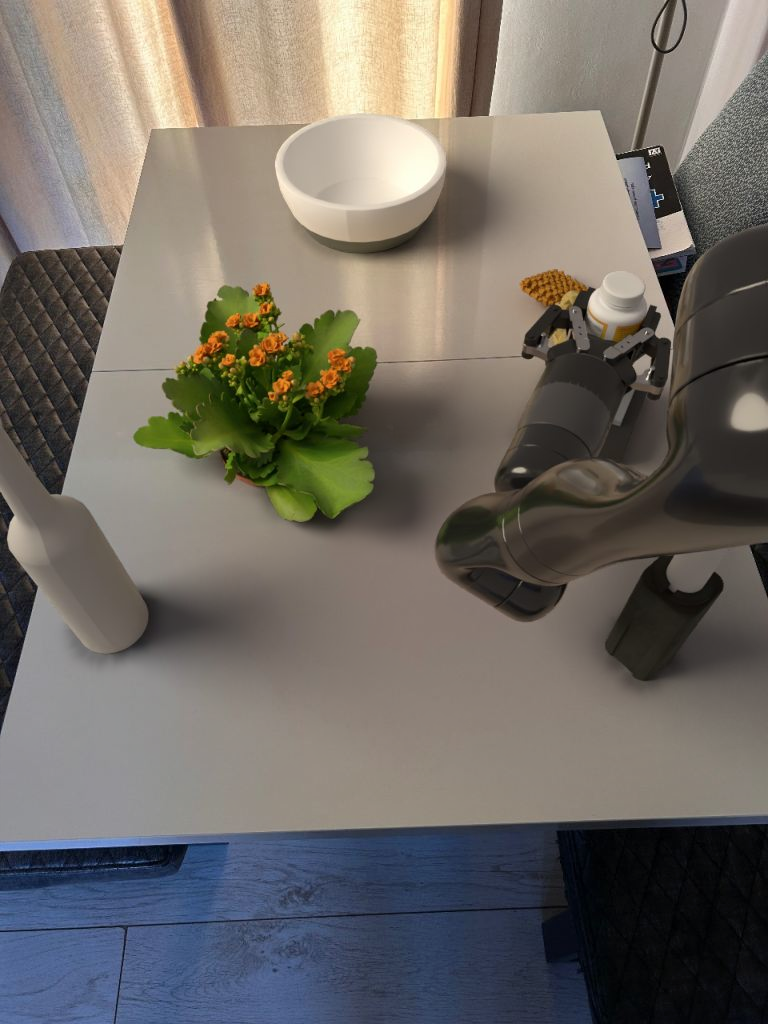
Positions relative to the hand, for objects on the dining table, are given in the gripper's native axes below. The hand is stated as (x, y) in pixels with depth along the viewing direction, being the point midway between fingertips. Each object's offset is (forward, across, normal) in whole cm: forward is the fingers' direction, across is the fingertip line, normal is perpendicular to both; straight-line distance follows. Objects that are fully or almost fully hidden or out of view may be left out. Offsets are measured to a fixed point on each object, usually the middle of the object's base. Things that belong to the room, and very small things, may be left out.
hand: (620, 303), depth 77 cm
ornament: (+11, +8, +13) cm, 18 cm away
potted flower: (-23, +30, +14) cm, 40 cm away
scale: (-4, 0, +13) cm, 13 cm away
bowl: (+19, +39, +13) cm, 45 cm away
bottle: (-47, +32, +14) cm, 58 cm away
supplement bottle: (-3, 0, +6) cm, 7 cm away
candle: (-28, -13, +13) cm, 34 cm away
